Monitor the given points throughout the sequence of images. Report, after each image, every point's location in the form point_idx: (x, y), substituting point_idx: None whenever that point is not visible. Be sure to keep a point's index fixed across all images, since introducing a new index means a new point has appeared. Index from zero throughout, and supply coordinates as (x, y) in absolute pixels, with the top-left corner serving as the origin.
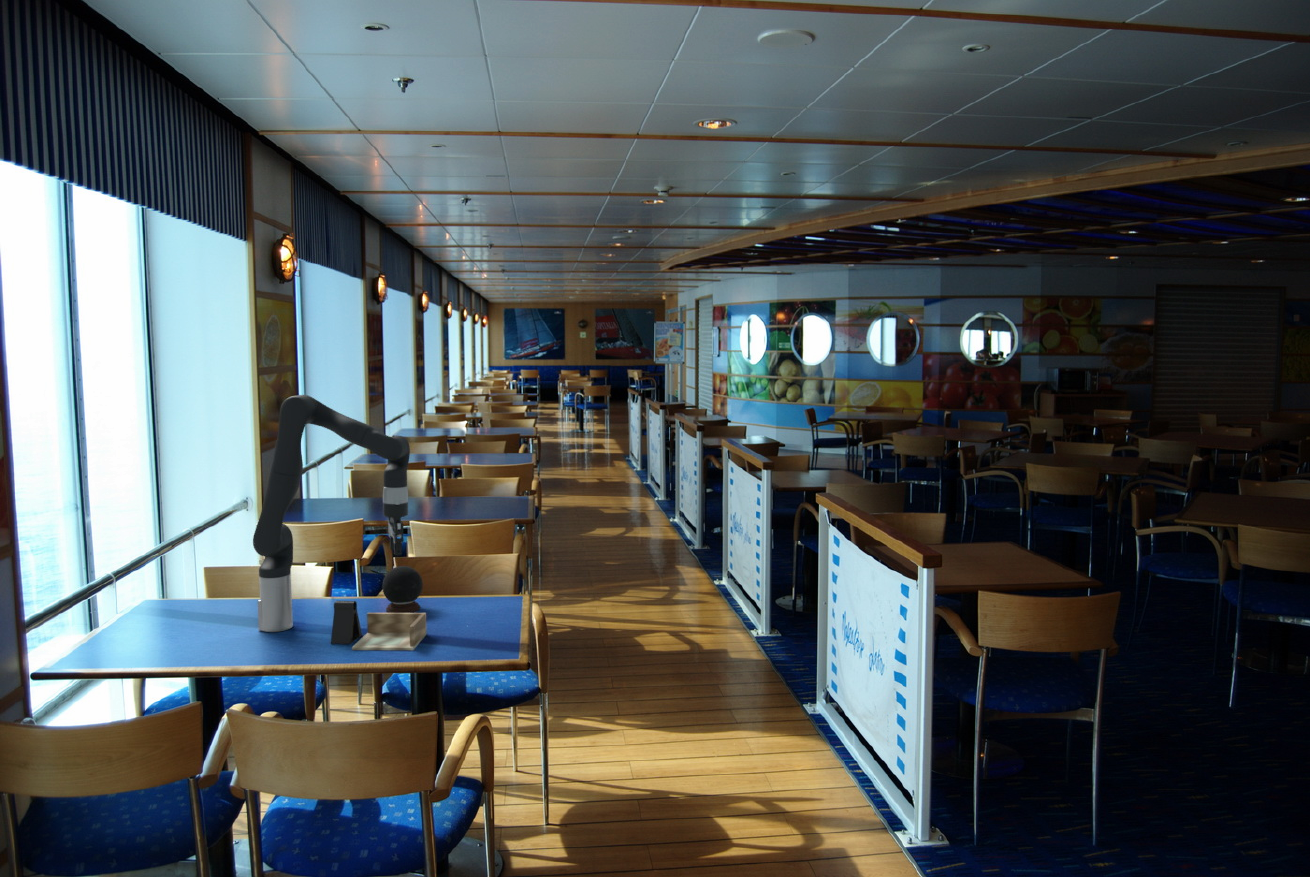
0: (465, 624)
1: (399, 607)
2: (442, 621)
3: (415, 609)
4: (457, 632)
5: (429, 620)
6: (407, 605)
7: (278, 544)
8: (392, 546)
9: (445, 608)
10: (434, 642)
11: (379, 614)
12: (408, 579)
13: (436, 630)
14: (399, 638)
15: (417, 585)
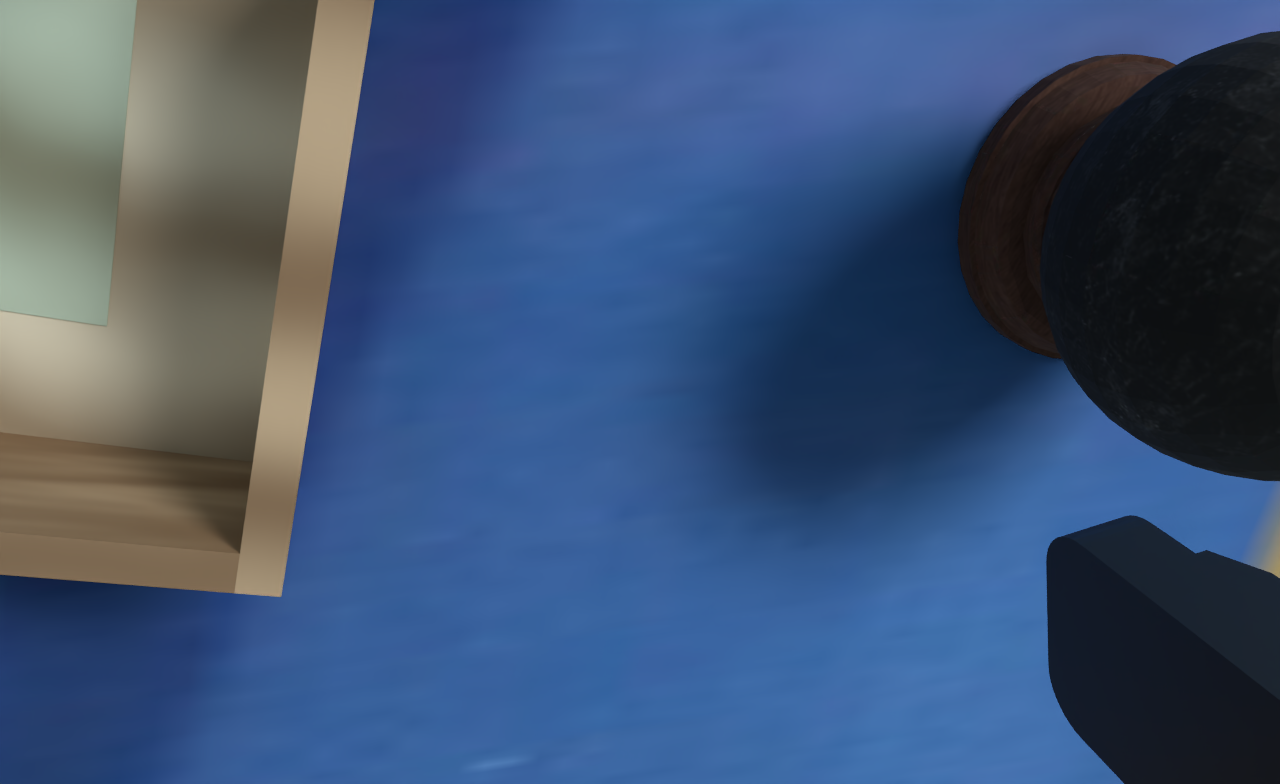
0: (537, 743)
1: (1036, 196)
2: (660, 568)
3: (1010, 329)
4: (322, 720)
5: (715, 464)
6: (1039, 272)
7: None
8: (1112, 640)
9: (1003, 546)
10: (33, 585)
11: (310, 58)
12: (1197, 379)
13: (408, 555)
14: (80, 275)
15: (1148, 437)
